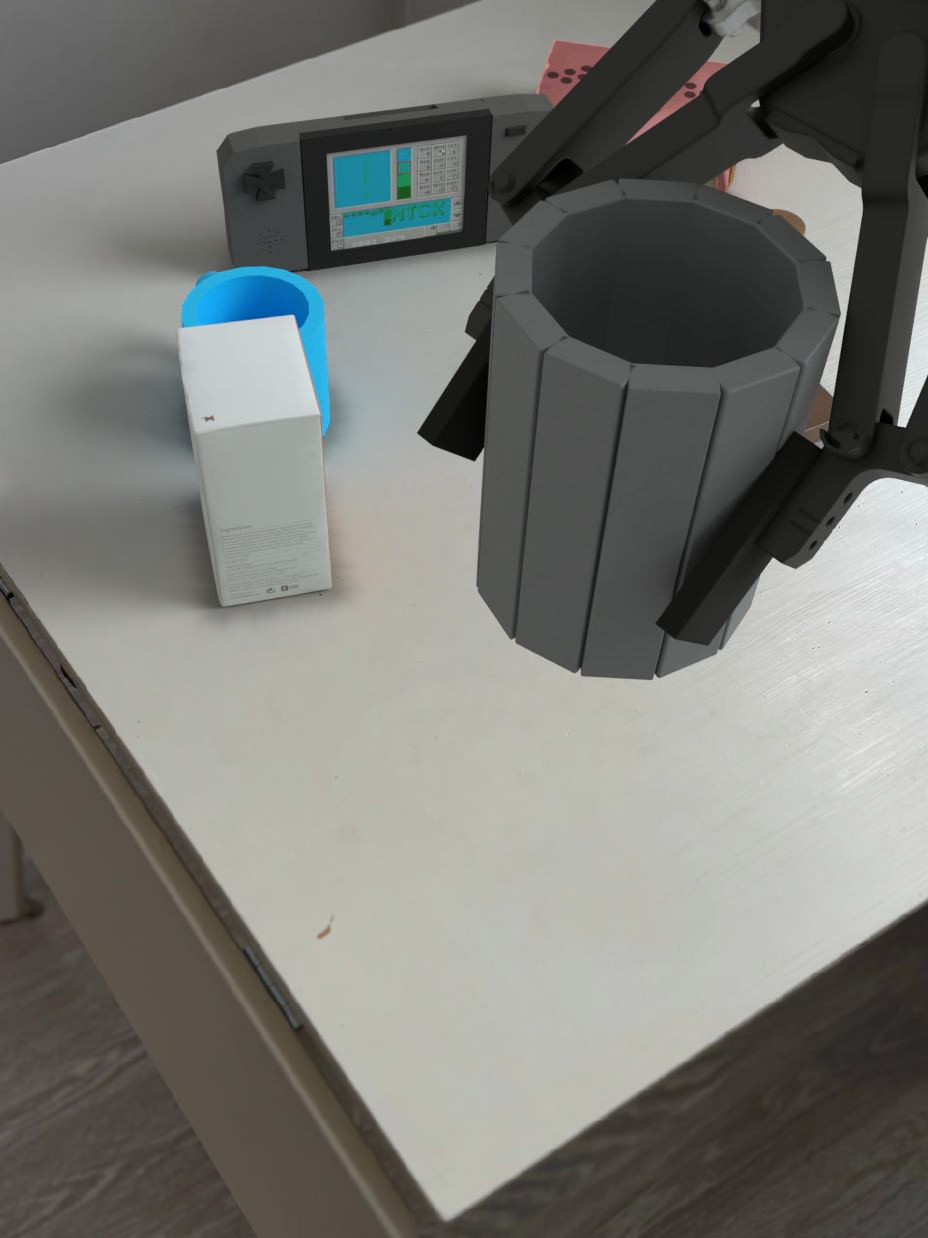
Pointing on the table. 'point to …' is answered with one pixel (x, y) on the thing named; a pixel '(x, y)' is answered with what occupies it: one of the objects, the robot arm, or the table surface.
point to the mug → (265, 311)
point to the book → (578, 58)
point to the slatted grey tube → (636, 408)
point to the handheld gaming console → (370, 182)
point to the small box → (257, 457)
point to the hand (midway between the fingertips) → (557, 536)
